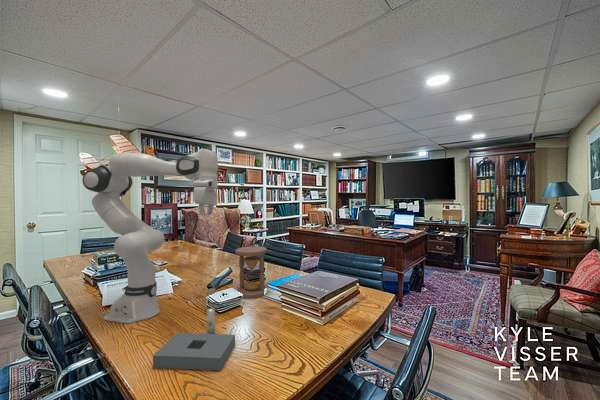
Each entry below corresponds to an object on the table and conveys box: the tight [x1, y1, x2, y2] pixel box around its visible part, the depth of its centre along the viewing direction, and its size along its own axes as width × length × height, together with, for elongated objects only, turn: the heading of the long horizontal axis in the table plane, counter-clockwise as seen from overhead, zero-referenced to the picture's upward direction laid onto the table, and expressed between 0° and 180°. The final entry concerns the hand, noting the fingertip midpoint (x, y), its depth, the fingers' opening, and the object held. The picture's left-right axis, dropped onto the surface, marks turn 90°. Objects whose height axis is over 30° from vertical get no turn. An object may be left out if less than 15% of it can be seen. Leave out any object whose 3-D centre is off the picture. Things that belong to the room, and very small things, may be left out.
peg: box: [206, 307, 216, 334], centre depth 103 cm, size 3×3×10 cm
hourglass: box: [235, 245, 268, 300], centre depth 149 cm, size 18×18×25 cm
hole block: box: [152, 332, 236, 372], centre depth 89 cm, size 22×14×4 cm, turn 85°
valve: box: [207, 287, 228, 297], centre depth 134 cm, size 7×7×12 cm
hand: (206, 215), depth 119 cm, fingers open, 8 cm apart
